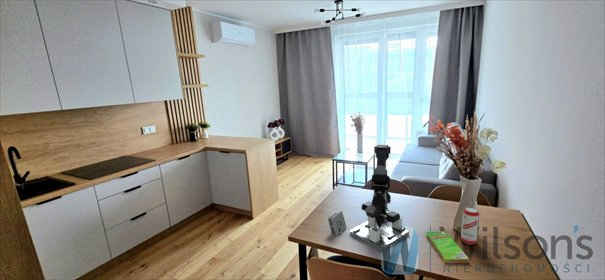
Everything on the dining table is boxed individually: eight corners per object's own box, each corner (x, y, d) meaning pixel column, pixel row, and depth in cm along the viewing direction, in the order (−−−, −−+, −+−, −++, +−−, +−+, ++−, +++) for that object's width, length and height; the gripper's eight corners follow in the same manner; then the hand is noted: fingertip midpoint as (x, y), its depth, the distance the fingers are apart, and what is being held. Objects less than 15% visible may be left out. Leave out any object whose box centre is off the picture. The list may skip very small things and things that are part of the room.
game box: (444, 265, 112) (424, 235, 131) (468, 265, 111) (445, 234, 131) (445, 259, 111) (425, 229, 131) (469, 258, 110) (446, 229, 130)
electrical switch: (337, 236, 134) (335, 219, 132) (328, 234, 137) (326, 217, 136) (346, 228, 141) (345, 211, 139) (338, 226, 144) (336, 209, 143)
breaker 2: (372, 237, 127) (372, 226, 126) (379, 241, 124) (380, 229, 123) (369, 239, 126) (369, 228, 125) (376, 243, 123) (376, 231, 121)
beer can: (476, 247, 120) (480, 214, 117) (460, 243, 124) (463, 211, 120) (476, 239, 126) (479, 208, 122) (460, 236, 129) (463, 205, 125)
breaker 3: (394, 224, 137) (395, 214, 136) (401, 227, 134) (402, 217, 133) (391, 226, 135) (391, 216, 134) (398, 229, 132) (399, 219, 131)
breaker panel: (377, 219, 147) (377, 214, 146) (408, 234, 132) (409, 229, 131) (350, 234, 135) (350, 228, 134) (381, 252, 120) (381, 246, 119)
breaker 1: (371, 224, 138) (371, 214, 137) (377, 227, 135) (377, 216, 134) (367, 225, 137) (367, 215, 136) (374, 229, 134) (374, 218, 133)
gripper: (353, 196, 132) (354, 225, 135) (385, 210, 117) (385, 242, 120) (368, 190, 138) (368, 218, 142) (401, 202, 123) (400, 233, 127)
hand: (379, 227), depth 132 cm, fingers closed
